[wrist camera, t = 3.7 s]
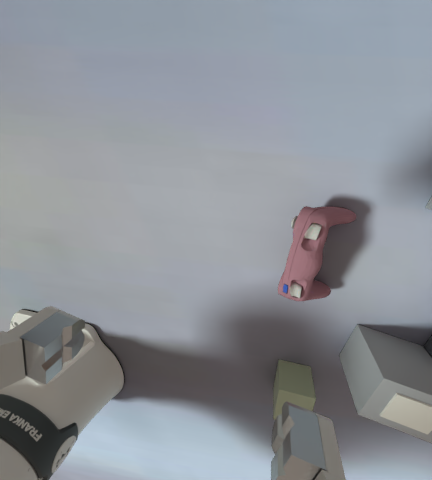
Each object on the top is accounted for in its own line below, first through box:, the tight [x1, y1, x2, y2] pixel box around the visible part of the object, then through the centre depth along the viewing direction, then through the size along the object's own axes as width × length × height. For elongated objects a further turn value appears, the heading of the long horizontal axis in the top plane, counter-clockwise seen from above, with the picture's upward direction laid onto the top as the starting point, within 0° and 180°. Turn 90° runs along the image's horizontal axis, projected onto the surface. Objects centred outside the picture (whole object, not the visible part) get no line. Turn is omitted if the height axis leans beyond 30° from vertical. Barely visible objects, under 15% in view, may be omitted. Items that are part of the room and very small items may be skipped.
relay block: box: [273, 360, 316, 420], centre depth 29 cm, size 4×5×4 cm
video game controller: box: [278, 207, 356, 301], centre depth 23 cm, size 10×5×7 cm, turn 173°
